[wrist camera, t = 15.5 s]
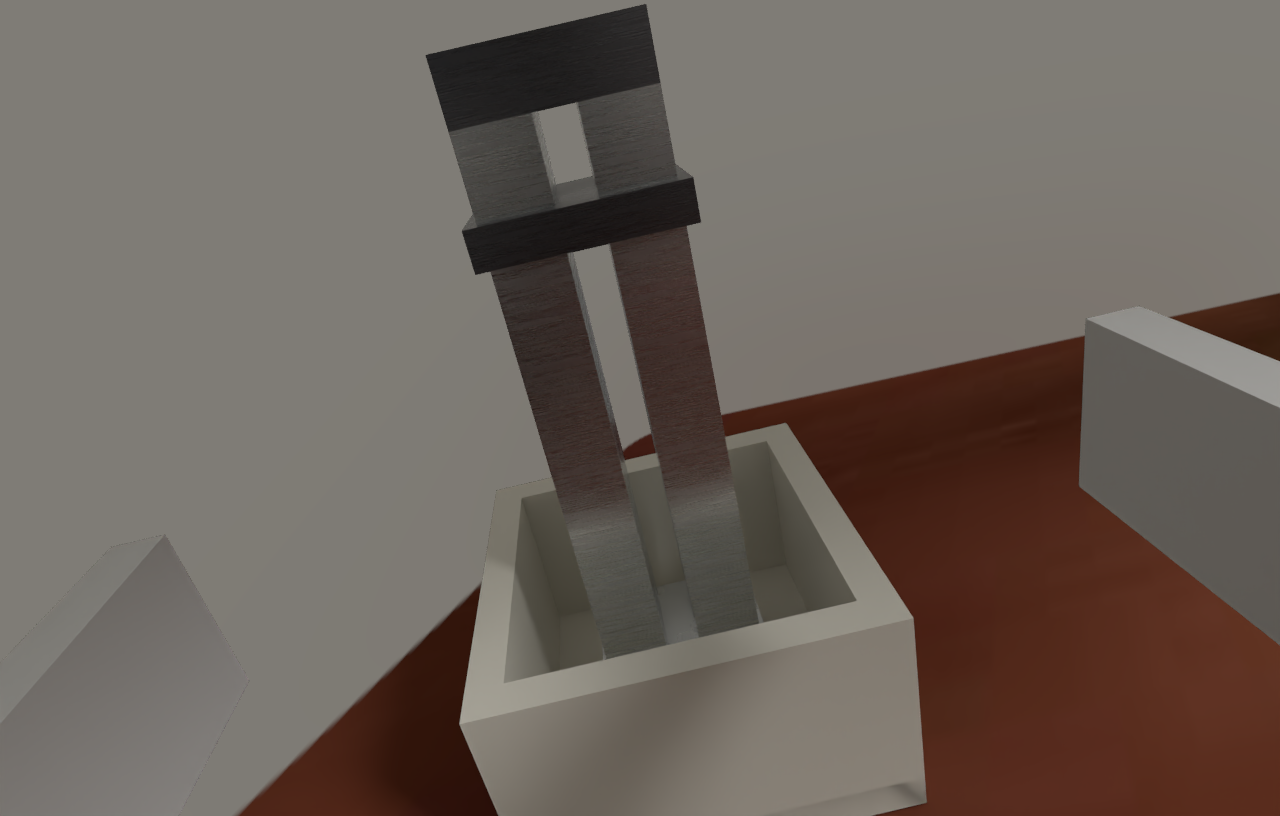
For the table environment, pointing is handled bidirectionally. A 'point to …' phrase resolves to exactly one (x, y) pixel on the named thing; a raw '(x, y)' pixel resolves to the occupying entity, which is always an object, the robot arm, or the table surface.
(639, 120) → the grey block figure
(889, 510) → the table surface
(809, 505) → the open box
